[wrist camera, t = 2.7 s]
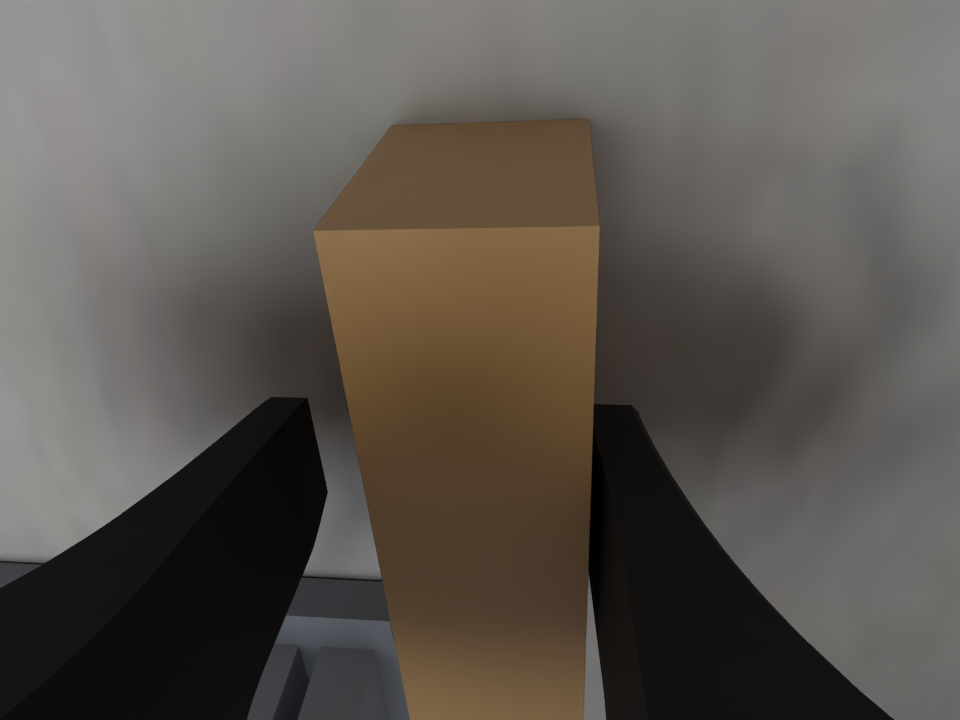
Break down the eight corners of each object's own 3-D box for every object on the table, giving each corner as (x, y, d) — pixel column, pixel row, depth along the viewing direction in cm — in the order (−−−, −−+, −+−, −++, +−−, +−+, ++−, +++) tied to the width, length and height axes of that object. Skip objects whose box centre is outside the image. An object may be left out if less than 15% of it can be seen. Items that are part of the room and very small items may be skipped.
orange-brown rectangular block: (377, 122, 10) (288, 231, 7) (589, 115, 10) (599, 226, 7) (437, 569, 16) (402, 753, 12) (578, 575, 15) (581, 766, 12)
